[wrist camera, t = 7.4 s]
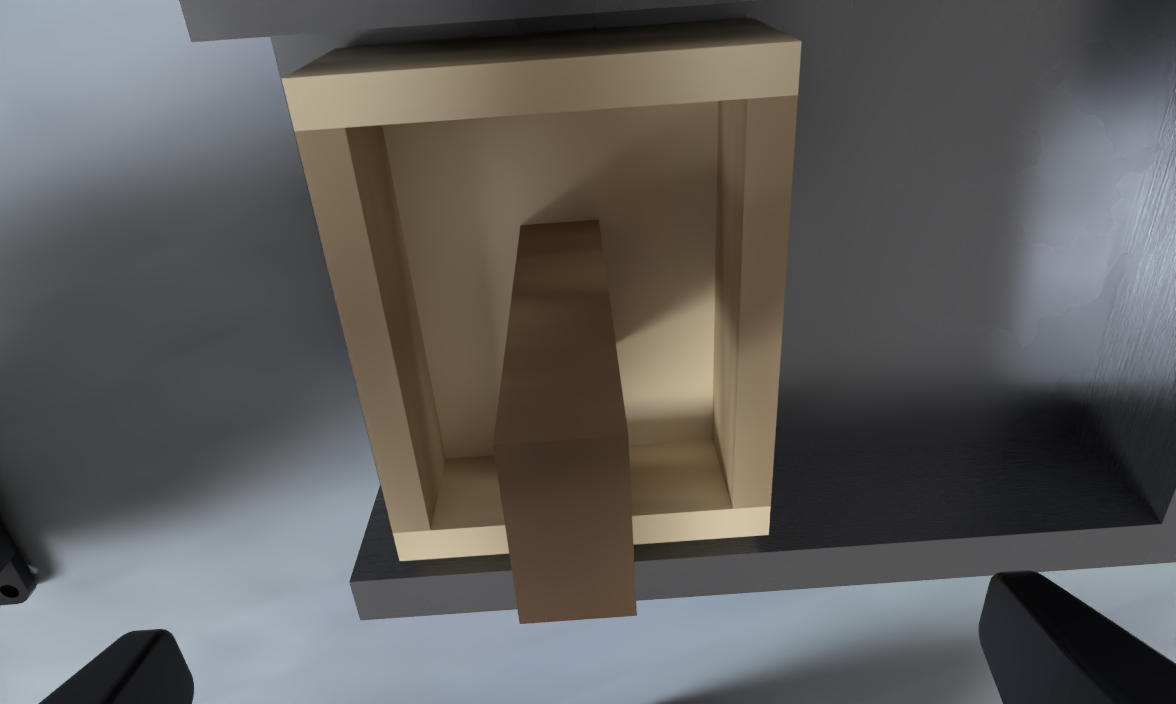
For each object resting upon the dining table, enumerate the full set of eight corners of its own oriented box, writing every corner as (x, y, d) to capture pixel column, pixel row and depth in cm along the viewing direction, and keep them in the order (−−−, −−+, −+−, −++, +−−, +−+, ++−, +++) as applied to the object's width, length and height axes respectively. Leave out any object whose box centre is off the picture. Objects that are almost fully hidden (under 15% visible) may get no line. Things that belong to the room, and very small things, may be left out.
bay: (397, 501, 22) (362, 626, 18) (263, -67, 15) (160, -64, 11) (1082, 452, 22) (1196, 567, 18) (1263, -139, 15) (1509, -161, 11)
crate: (422, 467, 20) (342, 792, 12) (335, 48, 15) (116, 172, 7) (737, 444, 20) (845, 757, 12) (754, 18, 15) (948, 111, 7)
